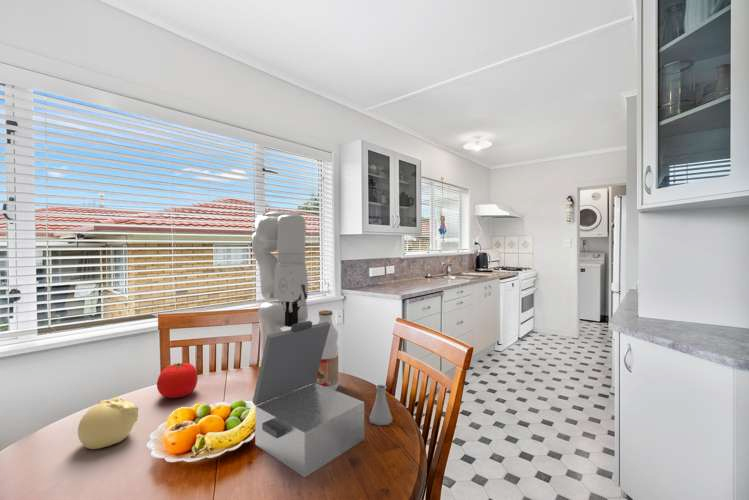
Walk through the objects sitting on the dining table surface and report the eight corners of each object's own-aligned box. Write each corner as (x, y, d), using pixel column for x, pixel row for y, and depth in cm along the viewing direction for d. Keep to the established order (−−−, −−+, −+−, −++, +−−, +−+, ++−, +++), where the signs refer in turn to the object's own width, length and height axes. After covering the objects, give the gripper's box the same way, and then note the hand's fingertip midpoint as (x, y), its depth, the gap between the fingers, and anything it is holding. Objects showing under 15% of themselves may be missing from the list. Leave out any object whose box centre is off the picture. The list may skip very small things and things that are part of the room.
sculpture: (145, 433, 94) (145, 394, 94) (98, 459, 83) (98, 414, 83) (116, 426, 98) (116, 388, 98) (67, 449, 86) (67, 407, 86)
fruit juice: (340, 392, 122) (340, 313, 121) (313, 394, 119) (313, 314, 119) (336, 381, 131) (336, 308, 130) (311, 384, 128) (311, 309, 128)
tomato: (199, 386, 126) (199, 356, 126) (194, 400, 114) (194, 367, 114) (162, 390, 122) (162, 359, 122) (153, 406, 110) (153, 372, 110)
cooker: (246, 448, 87) (246, 409, 87) (320, 412, 106) (320, 380, 106) (295, 483, 74) (295, 437, 74) (369, 435, 93) (370, 398, 93)
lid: (255, 405, 89) (248, 397, 91) (314, 382, 104) (307, 376, 106) (272, 332, 84) (264, 325, 86) (331, 319, 99) (324, 313, 101)
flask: (391, 427, 98) (391, 392, 98) (366, 424, 99) (366, 390, 99) (394, 415, 105) (394, 382, 105) (371, 413, 106) (371, 381, 106)
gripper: (264, 259, 97) (264, 324, 97) (297, 260, 87) (297, 332, 87) (286, 259, 103) (286, 320, 103) (319, 259, 93) (319, 327, 93)
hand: (291, 325), depth 95 cm, fingers closed
